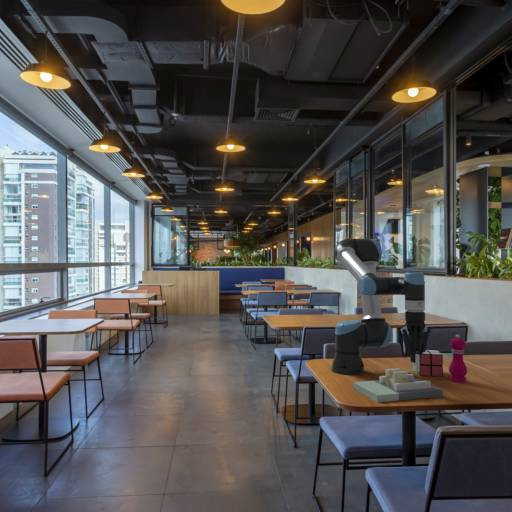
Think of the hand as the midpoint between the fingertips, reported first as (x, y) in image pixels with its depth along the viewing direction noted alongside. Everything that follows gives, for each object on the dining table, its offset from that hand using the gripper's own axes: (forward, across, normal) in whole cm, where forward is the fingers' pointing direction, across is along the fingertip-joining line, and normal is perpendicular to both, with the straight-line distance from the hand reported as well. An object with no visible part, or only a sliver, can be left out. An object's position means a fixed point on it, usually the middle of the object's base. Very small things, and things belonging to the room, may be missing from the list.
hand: (415, 370), depth 169 cm
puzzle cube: (+8, +23, +22) cm, 33 cm away
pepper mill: (+8, +27, +8) cm, 29 cm away
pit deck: (+8, -8, 0) cm, 12 cm away
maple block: (+6, -8, 0) cm, 10 cm away
